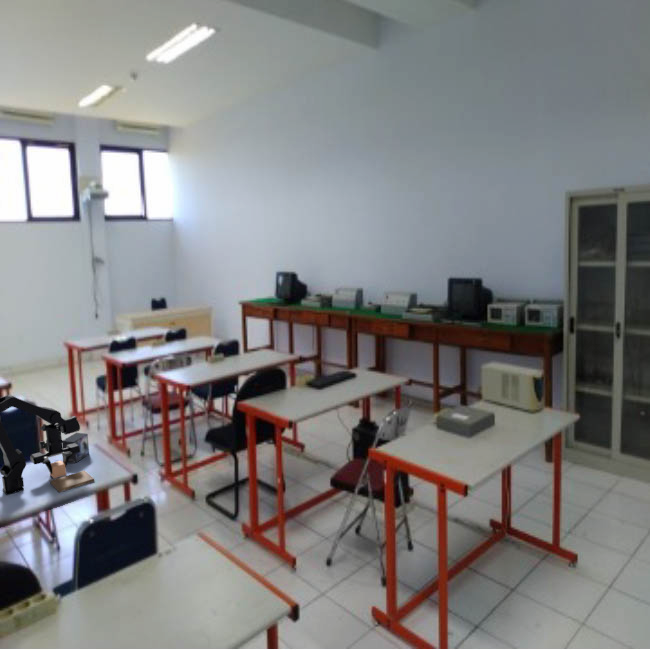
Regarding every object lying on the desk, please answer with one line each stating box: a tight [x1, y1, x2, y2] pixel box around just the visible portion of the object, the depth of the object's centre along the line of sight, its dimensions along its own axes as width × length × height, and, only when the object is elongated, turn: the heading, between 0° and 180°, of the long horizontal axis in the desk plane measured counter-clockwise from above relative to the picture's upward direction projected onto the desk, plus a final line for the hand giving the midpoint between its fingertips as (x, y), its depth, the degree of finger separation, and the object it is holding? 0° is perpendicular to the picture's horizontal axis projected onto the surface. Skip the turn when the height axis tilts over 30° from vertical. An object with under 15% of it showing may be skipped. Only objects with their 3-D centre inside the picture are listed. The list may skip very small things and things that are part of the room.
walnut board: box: [49, 469, 95, 493], centre depth 234 cm, size 14×11×1 cm
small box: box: [62, 432, 90, 464], centre depth 257 cm, size 11×6×10 cm, turn 168°
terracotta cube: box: [49, 460, 67, 479], centre depth 241 cm, size 5×5×5 cm
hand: (57, 471), depth 242 cm, fingers closed on terracotta cube, 5 cm apart
